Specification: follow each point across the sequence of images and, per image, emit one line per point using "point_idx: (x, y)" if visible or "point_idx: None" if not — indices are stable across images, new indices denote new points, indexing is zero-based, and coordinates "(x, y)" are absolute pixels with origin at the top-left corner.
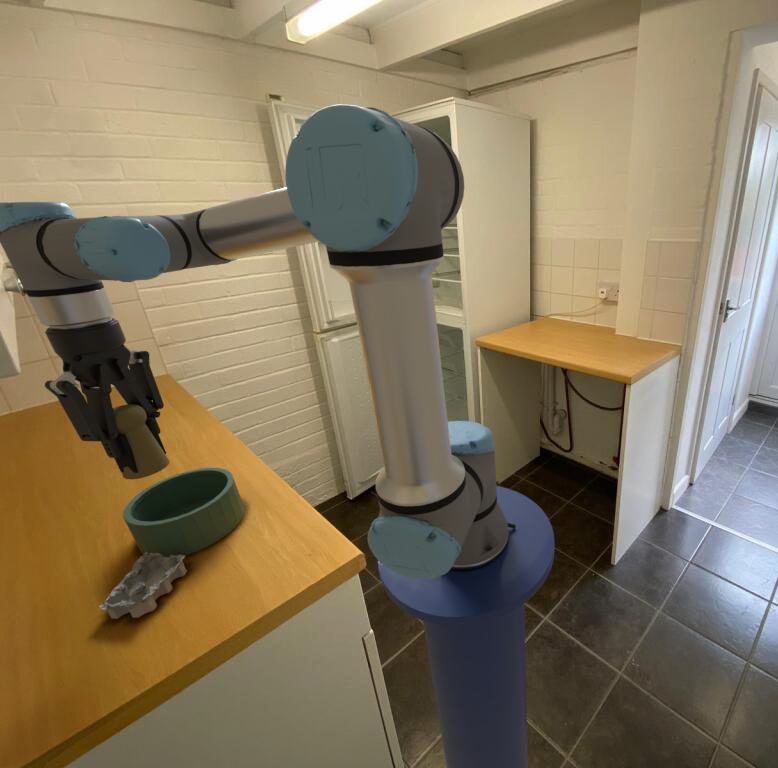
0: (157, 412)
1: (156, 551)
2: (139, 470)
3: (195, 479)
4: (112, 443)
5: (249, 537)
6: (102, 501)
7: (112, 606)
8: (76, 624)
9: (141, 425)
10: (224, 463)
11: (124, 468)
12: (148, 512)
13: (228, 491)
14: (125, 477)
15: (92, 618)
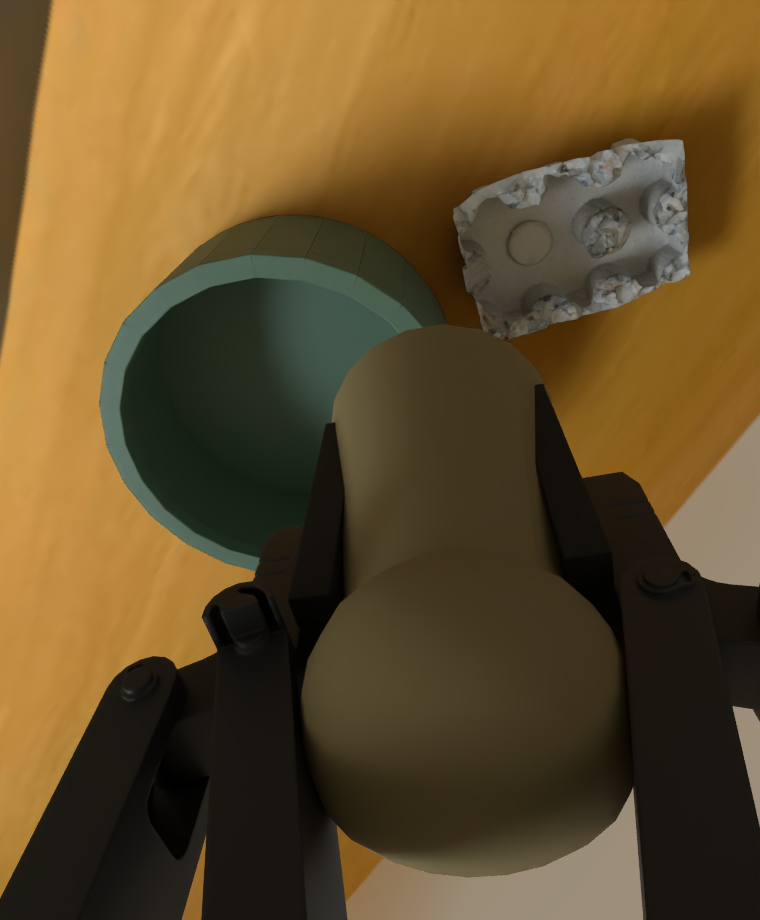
0: (216, 627)
1: None
2: (528, 384)
3: (183, 499)
4: (659, 547)
5: (275, 106)
6: None
7: (686, 228)
8: (689, 325)
9: (426, 555)
10: (48, 557)
11: None
12: None
13: (190, 268)
14: None
15: (668, 303)
